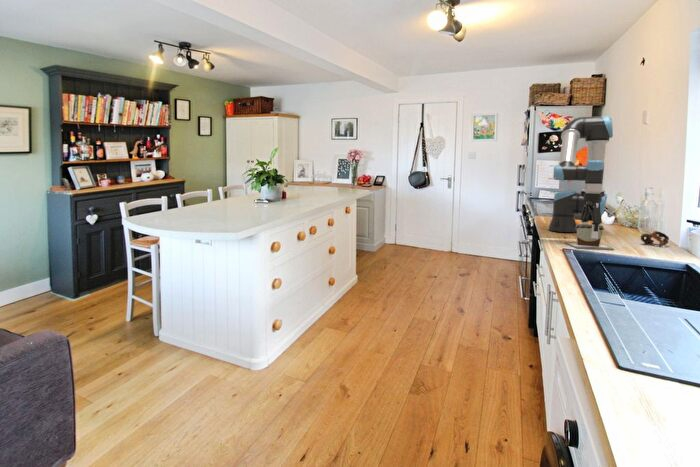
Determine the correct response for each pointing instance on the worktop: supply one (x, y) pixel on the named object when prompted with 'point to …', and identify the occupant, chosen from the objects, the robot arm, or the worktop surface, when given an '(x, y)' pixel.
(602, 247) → the board
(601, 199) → the robot arm
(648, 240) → the brown looped knot
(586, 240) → the food container
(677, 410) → the worktop surface
